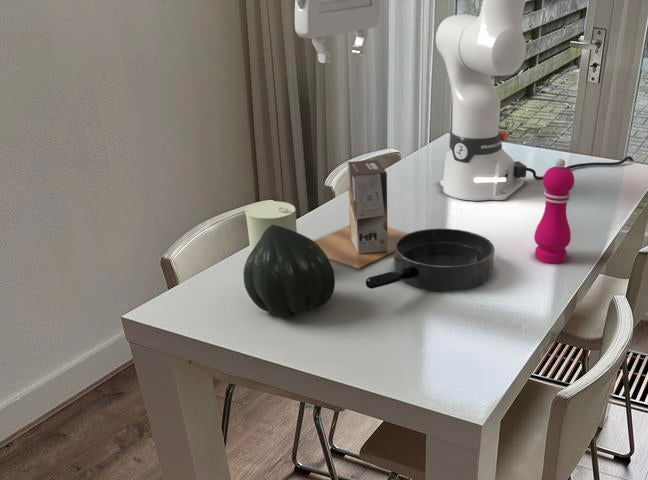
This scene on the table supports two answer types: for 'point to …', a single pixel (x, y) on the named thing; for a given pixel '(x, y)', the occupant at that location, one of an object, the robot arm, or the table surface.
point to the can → (268, 218)
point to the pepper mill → (554, 215)
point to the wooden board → (353, 248)
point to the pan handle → (391, 277)
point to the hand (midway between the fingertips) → (341, 58)
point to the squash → (288, 272)
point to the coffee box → (368, 206)
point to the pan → (445, 259)
